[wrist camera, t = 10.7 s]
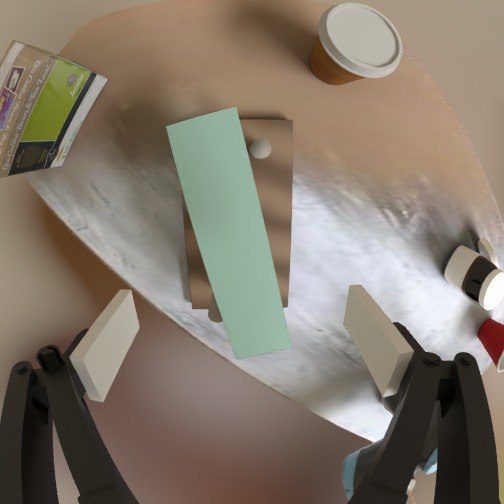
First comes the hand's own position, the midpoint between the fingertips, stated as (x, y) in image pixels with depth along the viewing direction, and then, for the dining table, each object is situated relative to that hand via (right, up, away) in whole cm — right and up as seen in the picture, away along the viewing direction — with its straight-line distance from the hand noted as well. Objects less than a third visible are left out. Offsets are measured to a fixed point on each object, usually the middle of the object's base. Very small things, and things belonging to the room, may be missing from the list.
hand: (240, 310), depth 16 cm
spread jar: (+41, +2, +25) cm, 48 cm away
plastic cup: (+59, -15, +32) cm, 69 cm away
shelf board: (-1, +5, +12) cm, 13 cm away
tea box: (-28, +25, +15) cm, 40 cm away
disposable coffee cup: (+12, +29, +14) cm, 34 cm away
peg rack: (-1, +8, +21) cm, 23 cm away
